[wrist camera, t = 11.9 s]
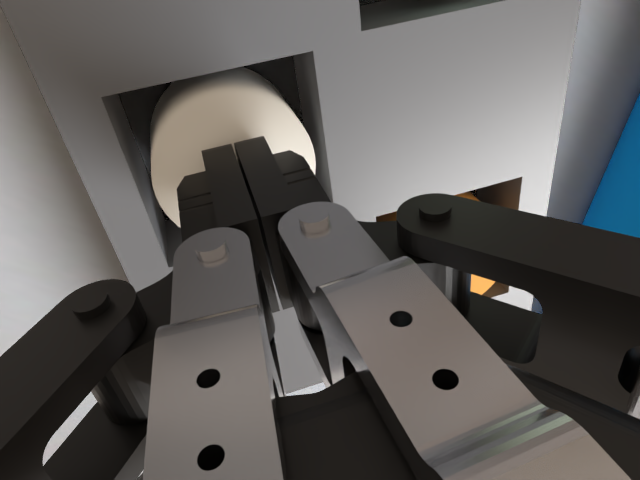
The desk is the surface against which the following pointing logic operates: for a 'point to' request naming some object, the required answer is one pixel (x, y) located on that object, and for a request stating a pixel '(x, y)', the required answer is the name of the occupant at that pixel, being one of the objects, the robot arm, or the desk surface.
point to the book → (620, 184)
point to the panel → (316, 104)
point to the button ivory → (217, 126)
